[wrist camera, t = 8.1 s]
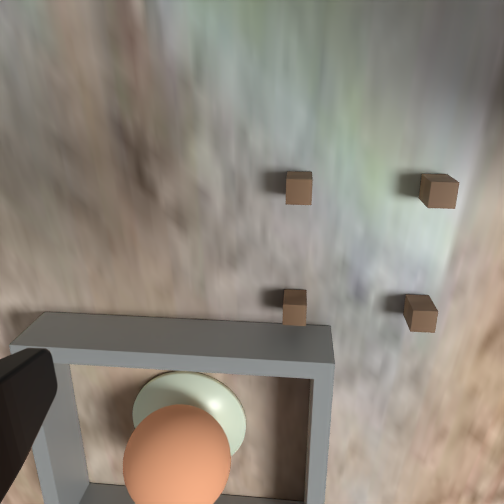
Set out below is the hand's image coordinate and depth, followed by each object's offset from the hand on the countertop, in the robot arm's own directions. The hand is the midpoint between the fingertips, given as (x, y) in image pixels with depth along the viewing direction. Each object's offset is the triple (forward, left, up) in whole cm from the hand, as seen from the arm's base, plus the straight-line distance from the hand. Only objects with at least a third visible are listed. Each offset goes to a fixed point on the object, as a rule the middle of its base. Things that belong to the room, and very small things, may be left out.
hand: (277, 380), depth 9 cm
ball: (+5, +12, -12) cm, 17 cm away
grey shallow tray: (+5, +12, -12) cm, 17 cm away
